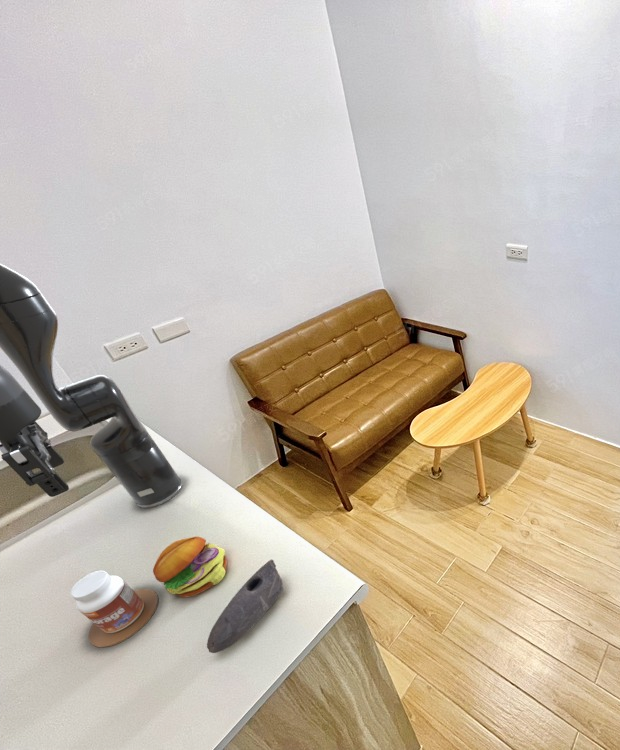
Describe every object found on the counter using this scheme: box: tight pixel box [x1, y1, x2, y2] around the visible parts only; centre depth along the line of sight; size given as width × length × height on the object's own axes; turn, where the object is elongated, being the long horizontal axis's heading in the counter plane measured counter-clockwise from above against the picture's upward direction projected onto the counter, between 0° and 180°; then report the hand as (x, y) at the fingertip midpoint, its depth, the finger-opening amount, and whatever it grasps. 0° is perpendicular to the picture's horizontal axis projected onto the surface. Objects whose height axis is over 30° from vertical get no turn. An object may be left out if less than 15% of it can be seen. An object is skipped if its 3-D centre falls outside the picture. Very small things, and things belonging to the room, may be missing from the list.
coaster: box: [88, 588, 159, 648], centre depth 72 cm, size 10×10×1 cm
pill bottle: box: [70, 570, 144, 633], centre depth 69 cm, size 6×6×11 cm
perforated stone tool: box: [206, 559, 284, 654], centre depth 70 cm, size 15×5×7 cm, turn 156°
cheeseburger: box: [152, 536, 228, 598], centre depth 76 cm, size 10×11×10 cm
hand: (58, 478), depth 63 cm, fingers open, 8 cm apart
